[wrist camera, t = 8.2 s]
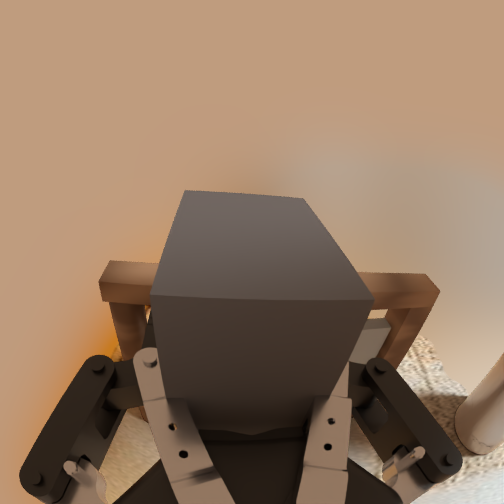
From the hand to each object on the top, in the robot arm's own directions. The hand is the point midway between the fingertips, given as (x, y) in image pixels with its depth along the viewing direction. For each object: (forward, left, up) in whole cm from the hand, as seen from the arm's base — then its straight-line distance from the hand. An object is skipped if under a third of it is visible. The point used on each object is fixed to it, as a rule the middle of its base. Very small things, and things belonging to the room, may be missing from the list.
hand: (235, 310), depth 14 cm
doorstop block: (+2, +2, -6) cm, 7 cm away
